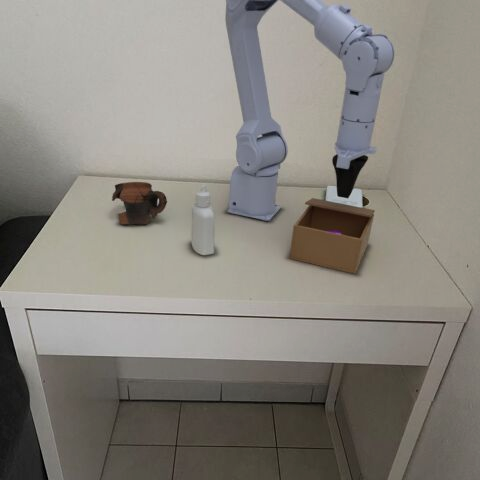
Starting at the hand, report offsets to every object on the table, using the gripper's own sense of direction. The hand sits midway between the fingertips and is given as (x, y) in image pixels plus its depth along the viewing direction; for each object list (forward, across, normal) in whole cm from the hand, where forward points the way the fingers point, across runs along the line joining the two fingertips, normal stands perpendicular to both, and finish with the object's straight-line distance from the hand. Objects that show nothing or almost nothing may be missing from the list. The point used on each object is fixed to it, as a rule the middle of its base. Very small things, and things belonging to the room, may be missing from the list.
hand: (343, 196), depth 90 cm
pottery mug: (+10, -8, +39) cm, 40 cm away
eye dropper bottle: (+10, -14, +22) cm, 28 cm away
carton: (+9, -4, 0) cm, 10 cm away
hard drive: (+10, +20, +3) cm, 23 cm away
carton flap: (+2, -2, 0) cm, 2 cm away
